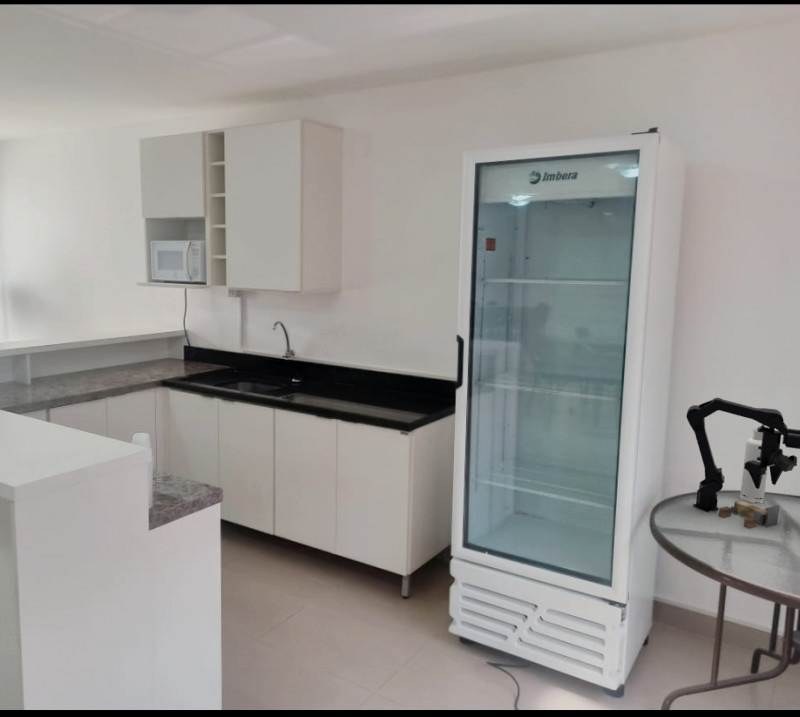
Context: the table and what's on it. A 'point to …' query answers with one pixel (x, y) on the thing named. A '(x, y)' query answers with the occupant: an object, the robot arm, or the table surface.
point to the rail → (748, 509)
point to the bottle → (747, 482)
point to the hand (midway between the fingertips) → (765, 486)
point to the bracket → (762, 515)
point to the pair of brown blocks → (748, 522)
